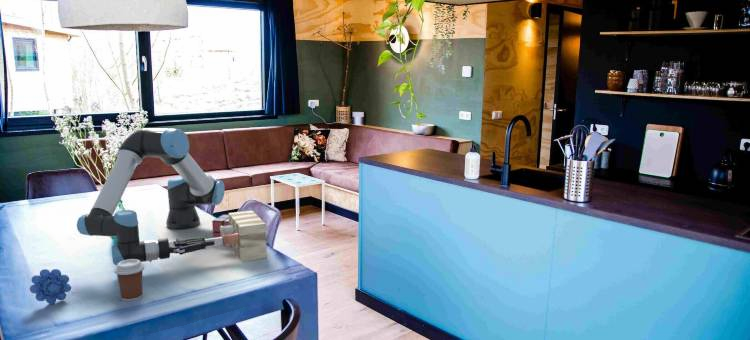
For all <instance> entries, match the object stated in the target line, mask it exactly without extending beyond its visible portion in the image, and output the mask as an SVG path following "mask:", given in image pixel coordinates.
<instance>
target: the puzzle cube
mask: <svg viewBox="0 0 750 340" xmlns="http://www.w3.org/2000/svg"><path fill="white" fill-rule="evenodd" d="M211 222H212V223H211V224H212V225H211V226H212V238H217V237H221V234H220V226H229V215H228V214H222V215H220V216H219V217H217V218H215V219H213V220H211Z"/></svg>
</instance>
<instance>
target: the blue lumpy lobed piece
mask: <svg viewBox="0 0 750 340" xmlns="http://www.w3.org/2000/svg"><path fill="white" fill-rule="evenodd" d="M69 282H70V277H69V276H68V275H67V274H62V272H61V270H60V269H58V268H57V269H56V268H54V269H52V270H51V271H50V270H49V269H48V268H47V269H46V268H45V269H42V270H40V271H39V275H36V274H35V275H33V276H32V277H31V283H33V284H31V285H30V287H29V292H30V293H32V294H35V299H36V301H38V302H44V301H46V303H48V304H49V305H51V304H52V305H53V304H55V303H56V302H57V300H59V301H63V300H65V299H66V297H67V294H66V293H69V292H71V289H72V286H71V284H70V283H69Z"/></svg>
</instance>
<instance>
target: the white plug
mask: <svg viewBox="0 0 750 340" xmlns="http://www.w3.org/2000/svg"><path fill="white" fill-rule="evenodd" d="M220 234H221V237H222V234H225V235H228V234H233V226H232V225H229V226H220Z"/></svg>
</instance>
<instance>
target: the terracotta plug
mask: <svg viewBox="0 0 750 340" xmlns="http://www.w3.org/2000/svg"><path fill="white" fill-rule="evenodd" d="M222 238H223V245H222V246H223V247H226V246H229V245H230V244H237V243H239V233H235V234H228V235H225V234H222ZM230 246H231V245H230Z"/></svg>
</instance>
